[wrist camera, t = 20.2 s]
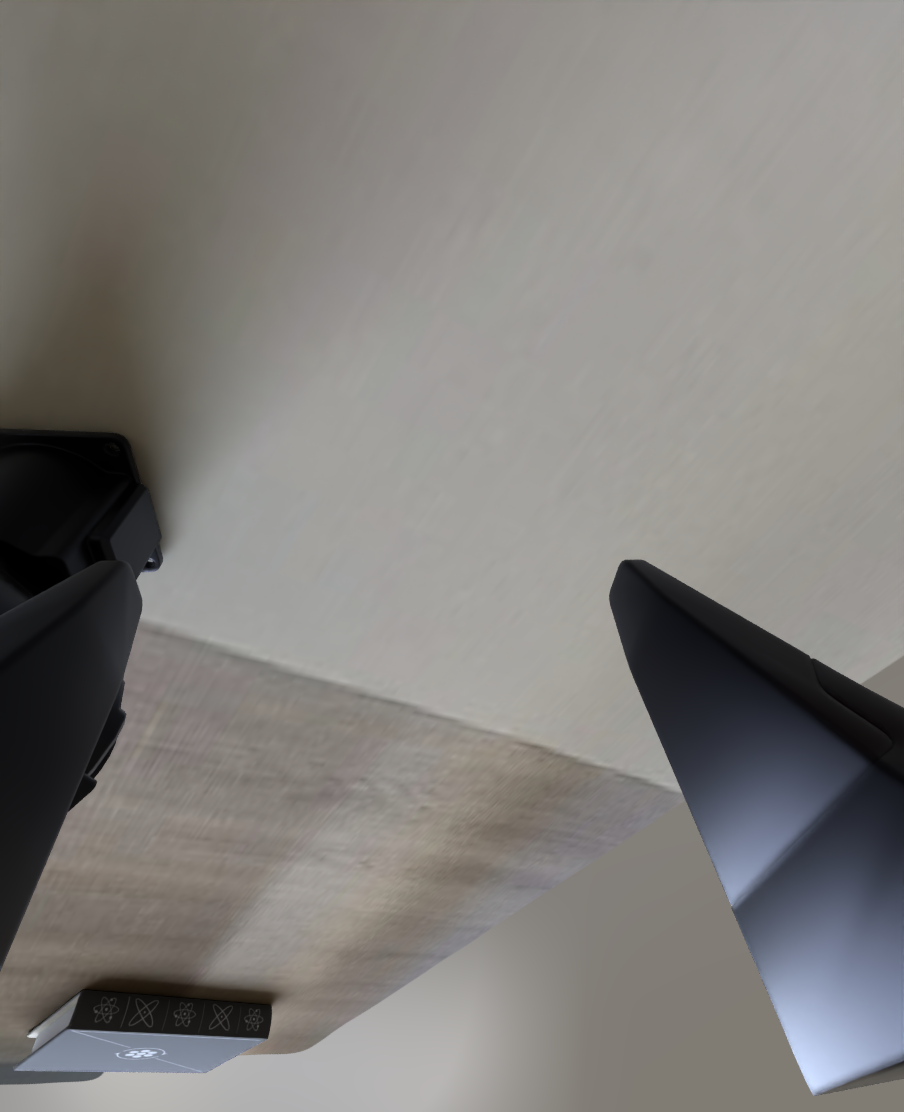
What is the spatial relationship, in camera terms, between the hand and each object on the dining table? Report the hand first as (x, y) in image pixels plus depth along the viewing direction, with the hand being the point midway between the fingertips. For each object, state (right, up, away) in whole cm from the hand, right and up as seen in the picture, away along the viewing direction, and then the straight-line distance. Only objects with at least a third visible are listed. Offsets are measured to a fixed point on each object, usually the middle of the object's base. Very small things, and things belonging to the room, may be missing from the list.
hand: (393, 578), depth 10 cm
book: (-33, -53, +50) cm, 80 cm away
